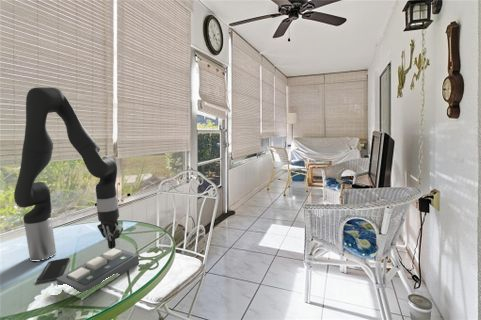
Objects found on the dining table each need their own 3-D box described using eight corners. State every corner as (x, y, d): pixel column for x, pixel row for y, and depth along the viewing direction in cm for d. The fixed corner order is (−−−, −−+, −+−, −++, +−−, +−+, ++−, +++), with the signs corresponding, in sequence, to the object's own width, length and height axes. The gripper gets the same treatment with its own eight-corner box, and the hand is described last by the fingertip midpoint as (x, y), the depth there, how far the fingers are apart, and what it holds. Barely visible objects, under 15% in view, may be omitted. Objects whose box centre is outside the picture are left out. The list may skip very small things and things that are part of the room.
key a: (68, 280, 93) (67, 274, 92) (82, 273, 97) (81, 267, 97) (77, 284, 90) (76, 278, 90) (90, 276, 95) (90, 270, 94)
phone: (35, 282, 94) (49, 261, 108) (36, 284, 95) (49, 263, 108) (60, 277, 97) (70, 257, 111) (61, 279, 97) (71, 259, 111)
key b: (87, 268, 99) (86, 262, 98) (99, 261, 103) (98, 256, 103) (95, 271, 96) (94, 265, 96) (107, 264, 101) (106, 259, 100)
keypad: (57, 288, 92) (56, 277, 91) (116, 255, 113) (115, 246, 112) (82, 300, 86) (81, 288, 85) (139, 263, 107) (138, 253, 106)
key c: (103, 259, 105) (103, 253, 104) (114, 253, 109) (113, 248, 109) (111, 262, 103) (111, 256, 102) (122, 256, 107) (121, 250, 107)
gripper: (88, 208, 102) (93, 248, 105) (110, 213, 96) (115, 256, 99) (105, 202, 108) (109, 240, 111) (127, 207, 103) (131, 247, 105)
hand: (112, 247), depth 105 cm, fingers closed
